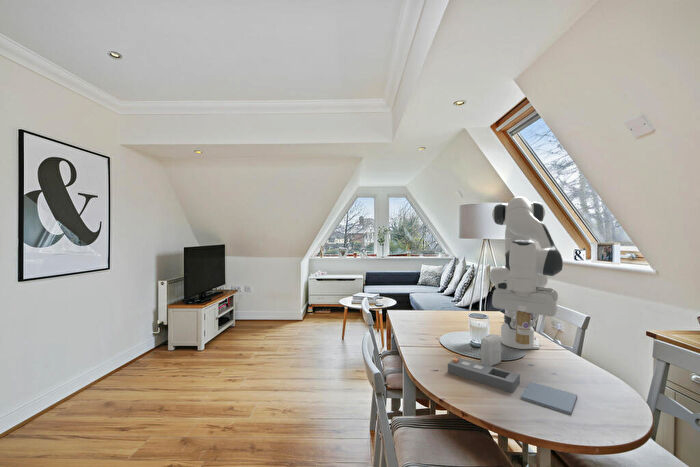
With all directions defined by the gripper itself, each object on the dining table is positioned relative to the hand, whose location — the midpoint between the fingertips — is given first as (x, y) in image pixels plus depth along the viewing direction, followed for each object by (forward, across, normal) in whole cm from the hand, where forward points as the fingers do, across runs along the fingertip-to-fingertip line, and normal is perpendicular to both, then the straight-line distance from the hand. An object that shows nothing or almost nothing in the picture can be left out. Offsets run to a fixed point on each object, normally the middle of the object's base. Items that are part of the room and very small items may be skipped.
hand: (523, 324), depth 111 cm
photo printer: (+24, +17, -16) cm, 33 cm away
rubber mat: (+23, -8, 0) cm, 25 cm away
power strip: (+23, +14, 0) cm, 27 cm away
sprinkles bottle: (+7, 0, 0) cm, 7 cm away
